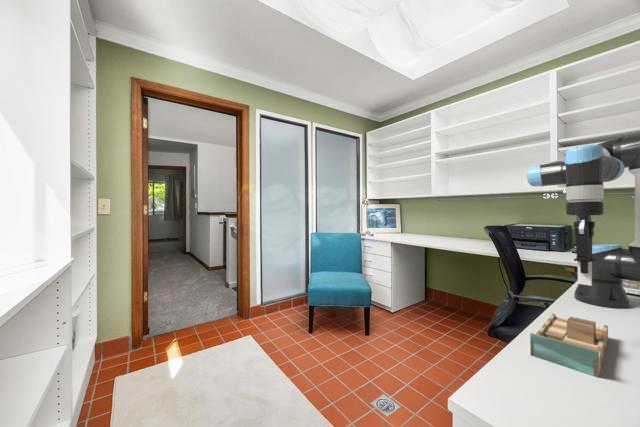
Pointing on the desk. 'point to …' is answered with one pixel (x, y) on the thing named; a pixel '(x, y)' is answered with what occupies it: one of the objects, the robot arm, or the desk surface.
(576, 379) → the desk surface
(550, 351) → the tray
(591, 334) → the block
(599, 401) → the desk surface
